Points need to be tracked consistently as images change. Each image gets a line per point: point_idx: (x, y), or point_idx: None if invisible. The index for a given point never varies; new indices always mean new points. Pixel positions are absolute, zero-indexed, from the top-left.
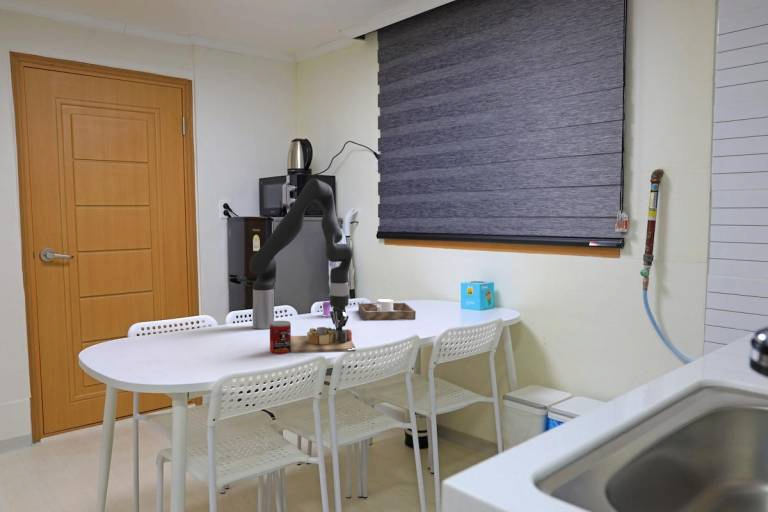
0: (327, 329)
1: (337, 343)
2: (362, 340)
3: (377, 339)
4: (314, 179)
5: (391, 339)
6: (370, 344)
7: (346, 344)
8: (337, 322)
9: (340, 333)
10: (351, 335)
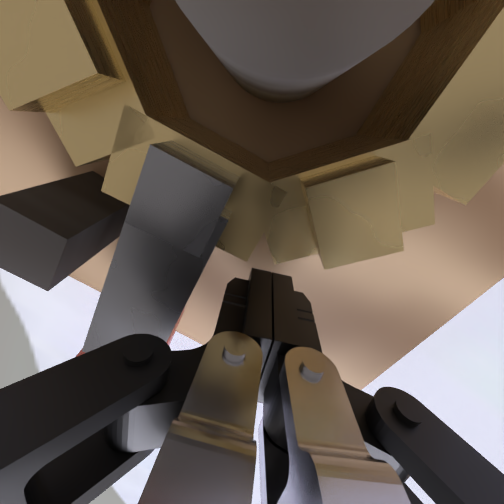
0: (336, 174)
1: None
2: None
3: (159, 450)
4: None
5: (120, 482)
6: (55, 360)
7: (18, 186)
8: (211, 420)
9: (10, 203)
10: None
